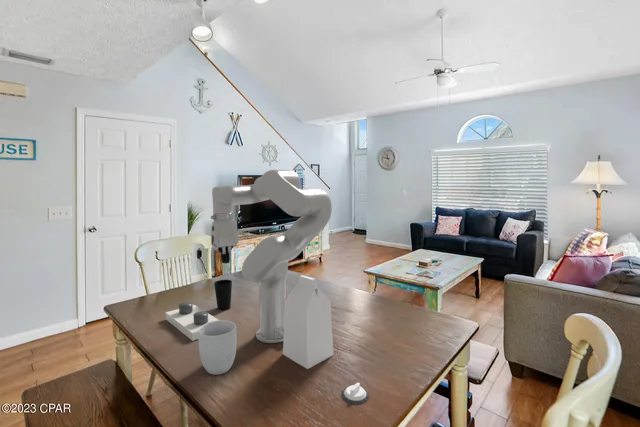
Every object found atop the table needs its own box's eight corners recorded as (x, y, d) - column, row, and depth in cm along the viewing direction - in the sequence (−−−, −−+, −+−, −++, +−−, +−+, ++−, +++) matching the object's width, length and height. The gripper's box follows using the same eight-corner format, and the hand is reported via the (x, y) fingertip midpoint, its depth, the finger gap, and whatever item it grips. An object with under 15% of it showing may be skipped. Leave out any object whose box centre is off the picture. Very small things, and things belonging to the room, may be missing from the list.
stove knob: (336, 398, 87) (336, 388, 86) (350, 384, 92) (350, 375, 92) (360, 410, 82) (360, 399, 82) (374, 395, 88) (374, 384, 88)
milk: (282, 354, 108) (281, 277, 106) (308, 342, 116) (308, 270, 114) (307, 369, 100) (306, 285, 97) (333, 354, 108) (333, 277, 105)
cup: (235, 305, 151) (234, 279, 150) (229, 311, 144) (228, 285, 142) (219, 304, 152) (218, 279, 151) (212, 311, 144) (211, 284, 143)
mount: (223, 330, 126) (223, 322, 125) (192, 341, 117) (192, 332, 117) (194, 311, 144) (194, 304, 144) (165, 319, 136) (165, 312, 136)
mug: (207, 353, 109) (206, 315, 107) (241, 351, 110) (240, 314, 109) (195, 380, 94) (193, 337, 93) (234, 378, 95) (233, 335, 94)
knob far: (195, 318, 136) (194, 304, 135) (182, 322, 132) (181, 307, 132) (189, 314, 139) (189, 300, 139) (177, 318, 136) (176, 304, 135)
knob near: (210, 329, 126) (210, 313, 125) (197, 333, 122) (197, 318, 122) (204, 324, 129) (204, 310, 129) (191, 329, 126) (191, 313, 125)
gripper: (211, 219, 123) (213, 268, 124) (244, 216, 134) (246, 260, 135) (201, 218, 128) (203, 265, 129) (234, 215, 139) (236, 258, 140)
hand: (225, 262), depth 132 cm, fingers closed
